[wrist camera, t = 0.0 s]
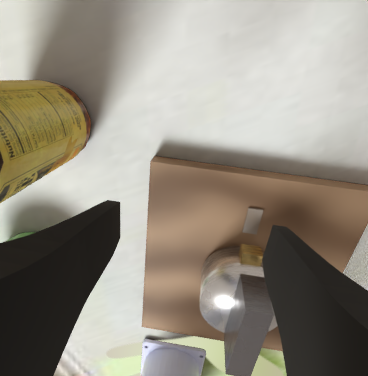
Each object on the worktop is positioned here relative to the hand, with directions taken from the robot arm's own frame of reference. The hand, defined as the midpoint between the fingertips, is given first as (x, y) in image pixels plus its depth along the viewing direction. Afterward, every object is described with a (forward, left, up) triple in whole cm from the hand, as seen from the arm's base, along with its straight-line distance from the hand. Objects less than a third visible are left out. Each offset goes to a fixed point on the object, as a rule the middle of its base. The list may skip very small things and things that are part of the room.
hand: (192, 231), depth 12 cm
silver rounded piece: (-10, -5, -9) cm, 14 cm away
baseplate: (-10, -5, -10) cm, 15 cm away
